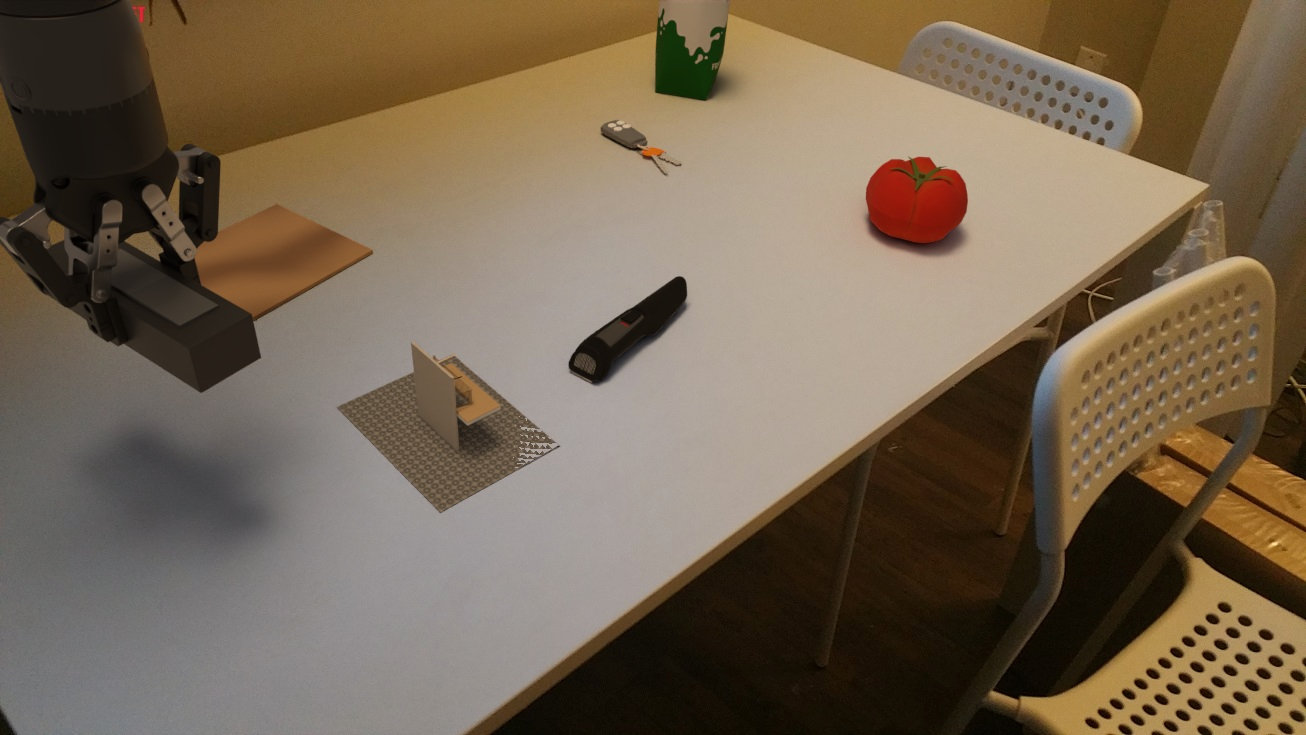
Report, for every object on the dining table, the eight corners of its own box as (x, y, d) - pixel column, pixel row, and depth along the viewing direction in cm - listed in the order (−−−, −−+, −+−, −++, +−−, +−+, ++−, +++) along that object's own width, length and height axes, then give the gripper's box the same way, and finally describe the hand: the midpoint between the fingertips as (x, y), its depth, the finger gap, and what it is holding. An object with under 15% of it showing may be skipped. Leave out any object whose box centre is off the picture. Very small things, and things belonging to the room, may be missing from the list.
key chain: (596, 134, 123) (597, 123, 122) (619, 127, 125) (620, 116, 124) (665, 176, 115) (666, 164, 114) (688, 167, 117) (690, 156, 116)
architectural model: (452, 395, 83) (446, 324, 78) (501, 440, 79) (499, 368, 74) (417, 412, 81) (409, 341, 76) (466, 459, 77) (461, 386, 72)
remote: (49, 296, 68) (31, 248, 65) (111, 268, 71) (96, 221, 68) (201, 393, 61) (187, 344, 59) (261, 358, 64) (251, 309, 62)
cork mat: (131, 277, 92) (130, 273, 92) (277, 207, 104) (276, 203, 104) (231, 333, 87) (230, 329, 87) (373, 253, 98) (372, 249, 98)
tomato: (972, 229, 111) (991, 169, 106) (927, 266, 104) (945, 204, 99) (888, 194, 116) (903, 136, 111) (840, 228, 109) (854, 167, 104)
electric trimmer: (696, 309, 95) (699, 282, 93) (598, 387, 85) (600, 358, 83) (664, 295, 97) (667, 267, 95) (564, 369, 86) (565, 340, 84)
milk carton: (661, 69, 140) (673, -80, 127) (723, 80, 139) (742, -70, 126) (646, 93, 133) (658, -62, 120) (712, 104, 132) (730, -51, 119)
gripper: (150, 25, 61) (206, 256, 72) (-95, 94, 52) (12, 350, 62) (230, 59, 58) (276, 295, 69) (-14, 140, 49) (84, 399, 59)
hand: (150, 320), depth 66 cm, fingers closed on remote, 4 cm apart
